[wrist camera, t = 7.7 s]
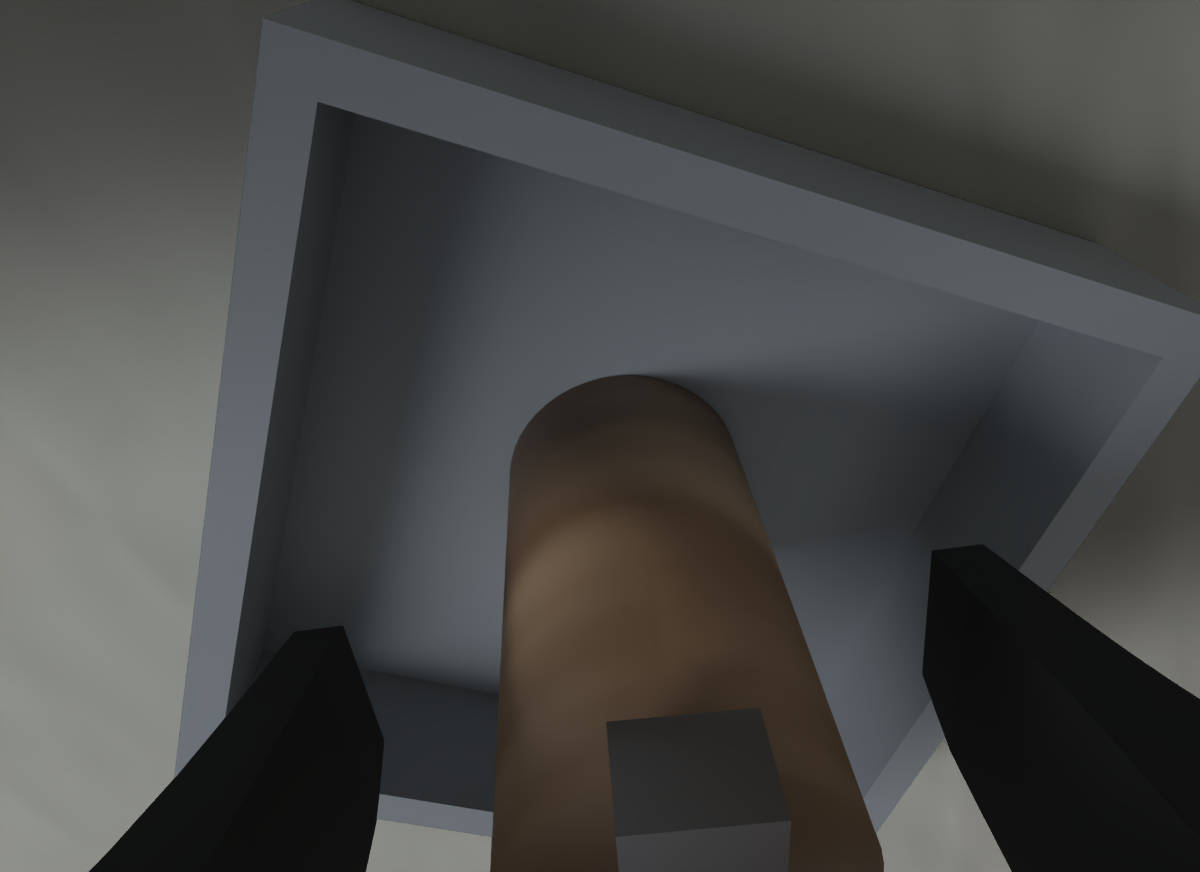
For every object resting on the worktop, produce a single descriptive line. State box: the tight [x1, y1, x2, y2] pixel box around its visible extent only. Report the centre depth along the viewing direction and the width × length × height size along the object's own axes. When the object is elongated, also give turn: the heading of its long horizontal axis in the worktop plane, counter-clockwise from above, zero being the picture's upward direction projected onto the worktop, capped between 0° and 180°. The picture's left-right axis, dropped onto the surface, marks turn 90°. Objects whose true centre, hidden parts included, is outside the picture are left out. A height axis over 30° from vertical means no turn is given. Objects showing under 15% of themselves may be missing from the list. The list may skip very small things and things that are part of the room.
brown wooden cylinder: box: [490, 375, 884, 872], centre depth 11 cm, size 4×5×8 cm
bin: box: [174, 0, 1200, 837], centre depth 13 cm, size 11×11×3 cm
